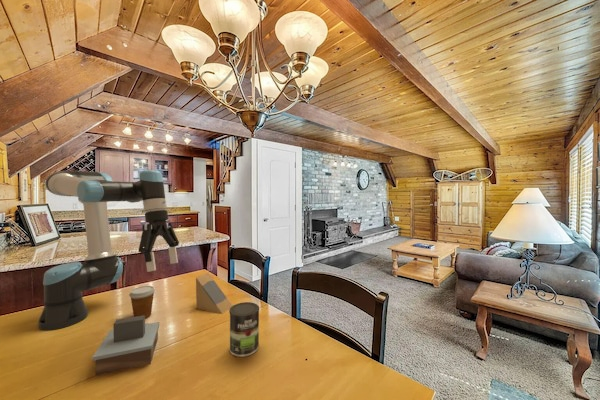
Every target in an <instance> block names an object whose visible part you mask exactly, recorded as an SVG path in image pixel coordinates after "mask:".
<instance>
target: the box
mask: <svg viewBox="0 0 600 400" xmlns="http://www.w3.org/2000/svg"><path fill="white" fill-rule="evenodd" d="M158 340H159V330H158V331H157V334H156V337H155V341H154V344H153V347H152V349H148V350H143V351H138V352H133V353H128V354H123V355H118V356H113V357H108V358H103V359H98V360H94V363H95V377H99V376H101V375H106V374H111V373H114V372H115V373H116V372H120V371H124V370H129V369H135V368H138V367H142V366H147V365H151V364H152V361H153V357H154V354H155V351H156V346H157V342H158Z"/></svg>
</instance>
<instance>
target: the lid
mask: <svg viewBox="0 0 600 400" xmlns="http://www.w3.org/2000/svg"><path fill="white" fill-rule="evenodd" d="M112 325H113V329H110V330H109V331H108V332H107V334H106V336H105V338H104V339H103V340H102V341H101V343H100V345H99V346H98V348H97V349H96V351H95V353H94V354H93V355H92V358H91V360H92V361H95V360H98V359H103V358H108V357H113V356H118V355H123V354H128V353H133V352H138V351H143V350H148V349H152V347H153V344H154V341H155V337H156V334H157V331H158V332H159V327H160V321H157V322H151V323H146V319H145V315H143V316H136V317H134V316H131V317H125V318H119V319H115V321H114V322H113V324H112Z"/></svg>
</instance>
